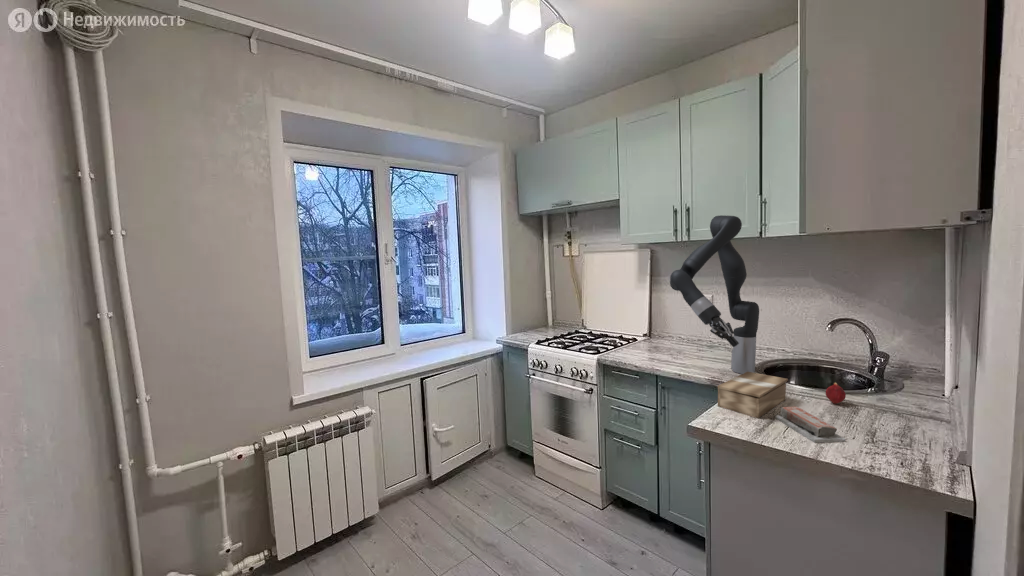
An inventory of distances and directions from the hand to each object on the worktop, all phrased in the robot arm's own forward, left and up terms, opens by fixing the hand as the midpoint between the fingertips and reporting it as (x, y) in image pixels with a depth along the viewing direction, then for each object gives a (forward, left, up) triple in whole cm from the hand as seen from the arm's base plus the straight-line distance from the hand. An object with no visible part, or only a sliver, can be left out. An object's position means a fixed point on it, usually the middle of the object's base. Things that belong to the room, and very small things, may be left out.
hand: (736, 345), depth 155 cm
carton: (+5, +3, -21) cm, 22 cm away
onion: (+11, +32, -21) cm, 40 cm away
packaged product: (+27, +6, -22) cm, 36 cm away
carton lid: (+6, +3, -14) cm, 15 cm away
